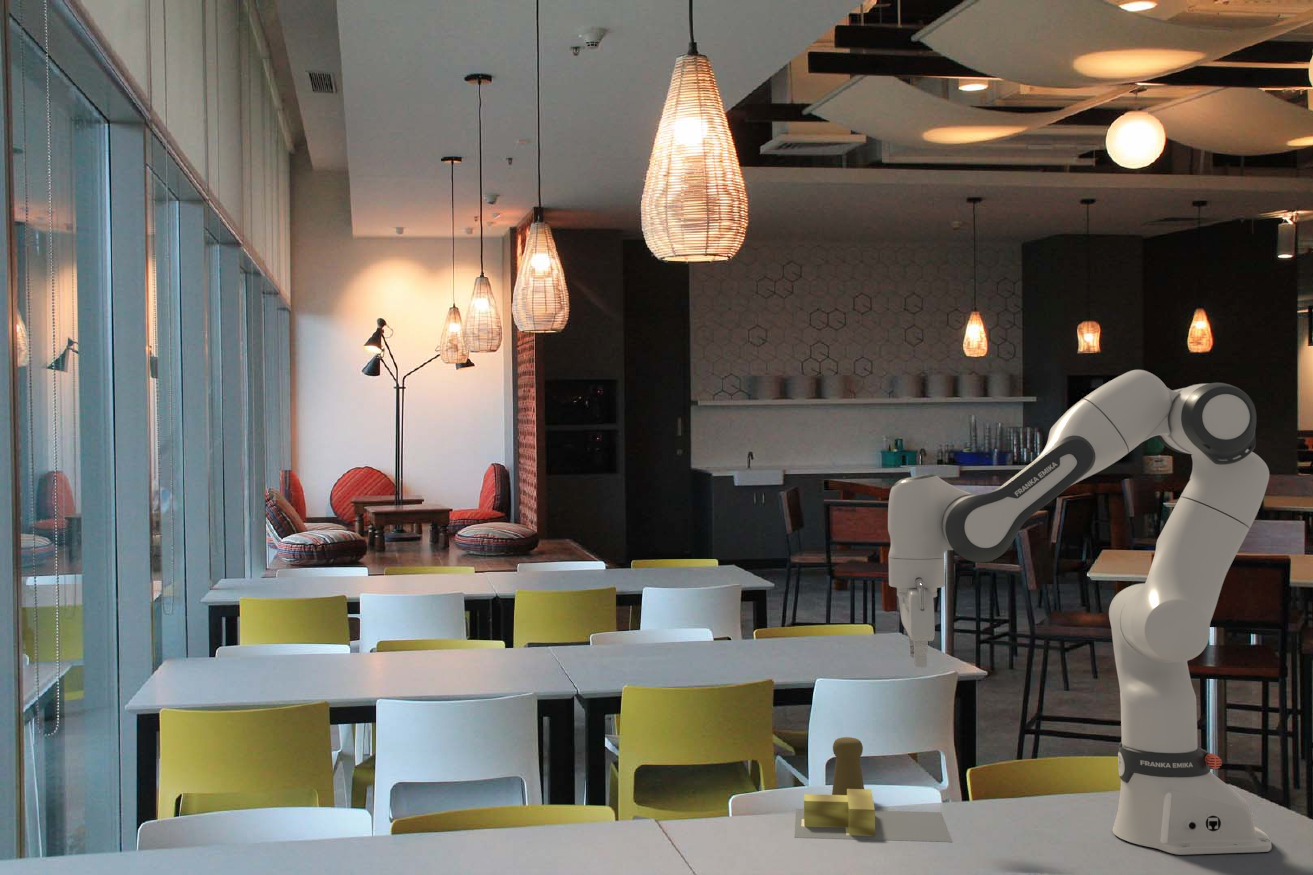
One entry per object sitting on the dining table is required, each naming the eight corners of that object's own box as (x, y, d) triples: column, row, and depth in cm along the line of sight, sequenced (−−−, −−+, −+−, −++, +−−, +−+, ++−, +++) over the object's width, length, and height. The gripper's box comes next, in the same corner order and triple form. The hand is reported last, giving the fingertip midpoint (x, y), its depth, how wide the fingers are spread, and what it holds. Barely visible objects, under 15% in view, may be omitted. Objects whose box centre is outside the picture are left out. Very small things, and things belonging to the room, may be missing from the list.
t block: (871, 813, 199) (871, 789, 199) (875, 835, 187) (874, 809, 187) (804, 811, 201) (804, 787, 201) (804, 833, 189) (803, 807, 189)
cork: (864, 796, 213) (863, 734, 213) (867, 806, 207) (866, 742, 207) (830, 796, 214) (829, 734, 214) (831, 805, 208) (831, 741, 208)
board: (941, 818, 199) (941, 812, 199) (952, 848, 184) (952, 841, 184) (796, 814, 203) (796, 808, 203) (794, 843, 187) (794, 837, 187)
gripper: (943, 581, 182) (945, 672, 182) (930, 570, 203) (932, 652, 202) (901, 581, 183) (902, 672, 183) (892, 570, 204) (893, 652, 203)
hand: (918, 661), depth 193 cm, fingers open, 8 cm apart
